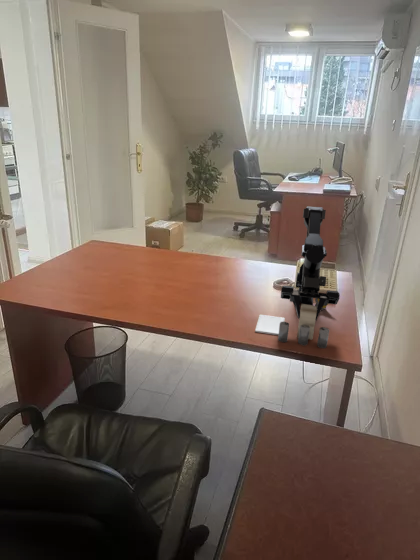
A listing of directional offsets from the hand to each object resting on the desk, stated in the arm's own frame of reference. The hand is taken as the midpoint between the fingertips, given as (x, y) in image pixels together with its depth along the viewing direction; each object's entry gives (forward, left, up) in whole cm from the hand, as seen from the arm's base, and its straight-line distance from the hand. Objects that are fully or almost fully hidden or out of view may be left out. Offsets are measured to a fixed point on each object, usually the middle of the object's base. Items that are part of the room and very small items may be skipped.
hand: (307, 319), depth 130 cm
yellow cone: (-23, +6, -7) cm, 25 cm away
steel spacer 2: (+4, +5, -7) cm, 10 cm away
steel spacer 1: (+4, -7, -7) cm, 11 cm away
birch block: (-1, 0, -7) cm, 7 cm away
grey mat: (-4, -12, -7) cm, 14 cm away
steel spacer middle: (+4, -1, -7) cm, 8 cm away
